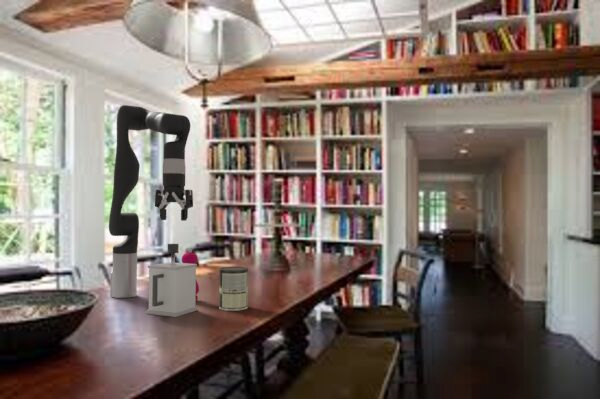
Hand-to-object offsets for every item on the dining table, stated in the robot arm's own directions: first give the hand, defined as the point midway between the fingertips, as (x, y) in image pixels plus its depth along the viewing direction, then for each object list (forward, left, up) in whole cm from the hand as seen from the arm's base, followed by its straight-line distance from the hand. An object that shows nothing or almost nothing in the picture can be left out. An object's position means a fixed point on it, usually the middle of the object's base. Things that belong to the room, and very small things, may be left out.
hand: (173, 220), depth 175 cm
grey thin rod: (0, 0, -30) cm, 30 cm away
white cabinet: (0, -2, -31) cm, 31 cm away
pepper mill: (-7, +19, -31) cm, 37 cm away
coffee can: (+15, +15, -31) cm, 38 cm away
